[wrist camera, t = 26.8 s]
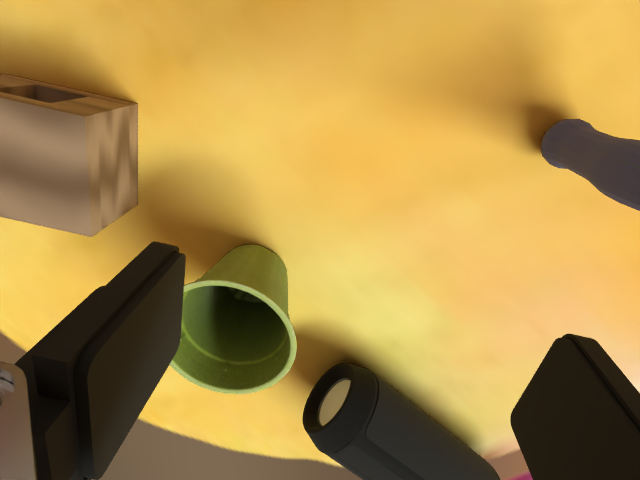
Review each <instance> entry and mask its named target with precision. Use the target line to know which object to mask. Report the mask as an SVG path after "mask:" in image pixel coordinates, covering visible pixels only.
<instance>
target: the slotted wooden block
mask: <svg viewBox="0 0 640 480" xmlns="http://www.w3.org/2000/svg"><path fill="white" fill-rule="evenodd" d="M136 205H138V104H137V103H132V102H128V101H124V100H119V99H115V98H110V97H106V96H102V95H97V94H93V93H88V92H84V91H79V90H75V89H71V88H66V87H62V86H57V85H53V84H49V83H44V82H40V81H35V80H31V79H26V78H22V77H18V76H13V75H9V74H3V75H0V217H4V218H8V219H13V220H17V221H22V222H26V223H31V224H35V225H40V226H44V227H49V228H53V229H58V230H62V231H67V232H71V233H76V234H80V235H85V236H89V237H92V236H94V235H95V234H97V233H98V232H99V231H101V230H102V229H104V228H105V227H107V226H108V225H109V224H111V223H112V222H114V221H115V220H117V219H118V218H119V217H121V216H122V215H124V214H125V213H126V212H128V211H129V210H131V209H132V208H134V207H135V206H136Z"/></svg>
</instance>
